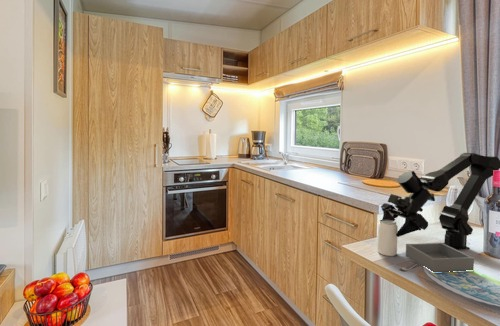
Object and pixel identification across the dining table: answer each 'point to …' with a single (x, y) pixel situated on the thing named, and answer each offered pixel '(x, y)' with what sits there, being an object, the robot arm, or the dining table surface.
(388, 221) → the can
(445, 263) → the tote
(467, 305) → the dining table surface
